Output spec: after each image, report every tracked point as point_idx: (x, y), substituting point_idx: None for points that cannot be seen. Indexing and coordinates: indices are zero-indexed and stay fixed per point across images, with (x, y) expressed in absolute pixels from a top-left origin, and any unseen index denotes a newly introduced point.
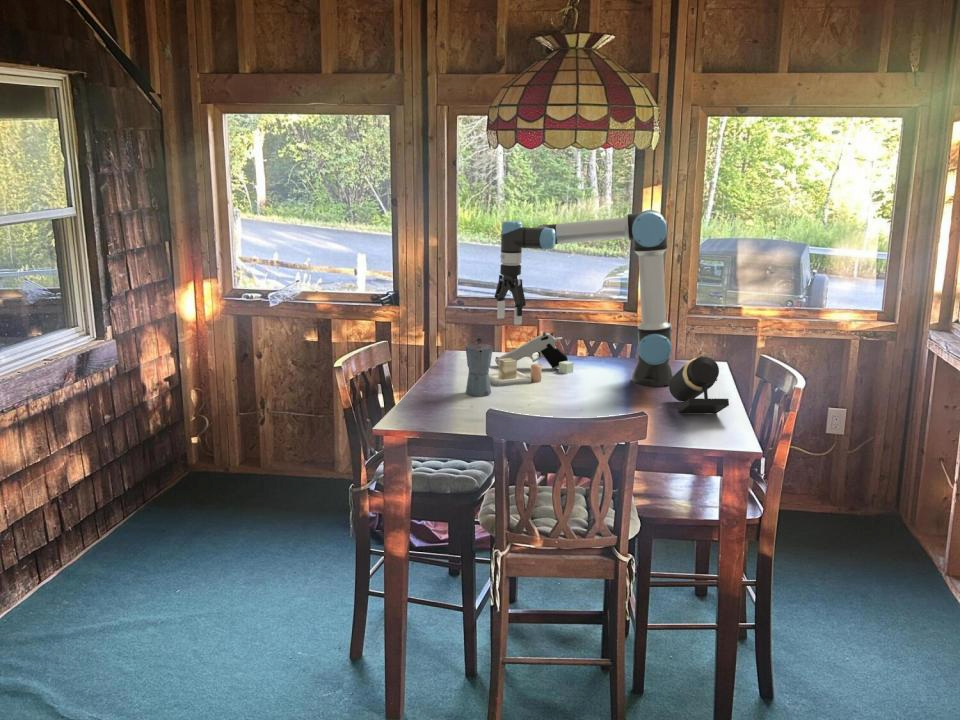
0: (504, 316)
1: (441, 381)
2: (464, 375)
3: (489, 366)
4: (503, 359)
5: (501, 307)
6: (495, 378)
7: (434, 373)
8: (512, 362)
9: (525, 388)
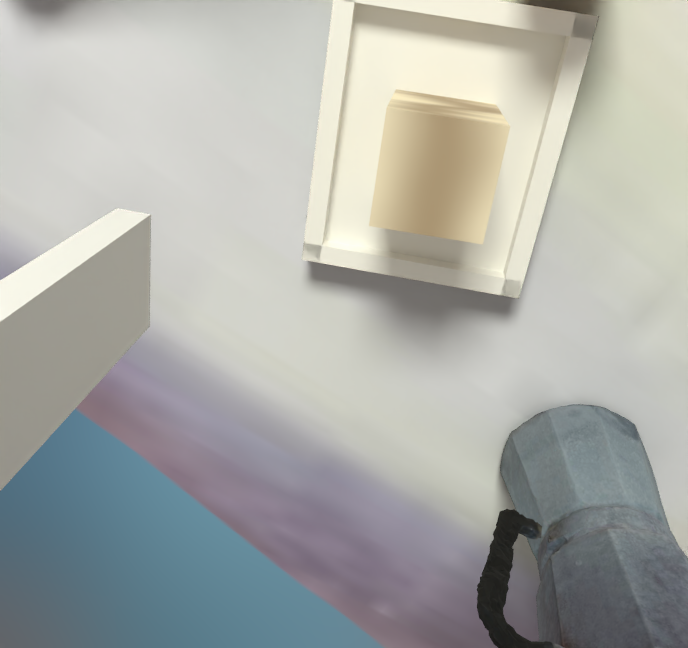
0: (137, 223)
1: (252, 465)
2: (183, 296)
3: (682, 551)
4: (397, 197)
5: (52, 363)
6: (455, 272)
7: (79, 404)
8: (498, 170)
9: (677, 160)
